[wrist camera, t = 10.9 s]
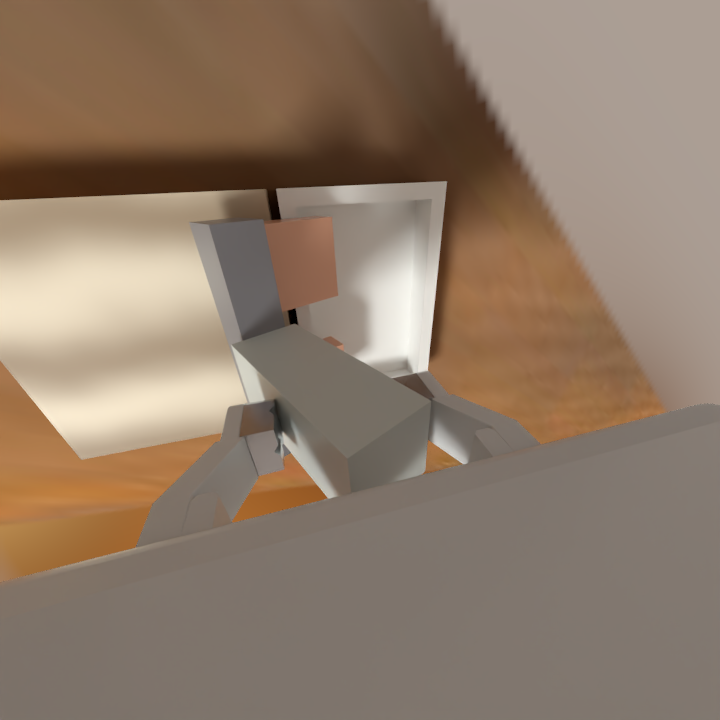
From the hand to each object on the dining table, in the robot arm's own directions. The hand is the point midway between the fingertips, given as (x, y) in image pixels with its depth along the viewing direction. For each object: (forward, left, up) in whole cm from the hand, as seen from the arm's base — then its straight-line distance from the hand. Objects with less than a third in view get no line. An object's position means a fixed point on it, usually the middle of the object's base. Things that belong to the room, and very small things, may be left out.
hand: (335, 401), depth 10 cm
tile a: (-3, -1, -8) cm, 9 cm away
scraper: (0, -4, -7) cm, 8 cm away
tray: (0, +4, -11) cm, 11 cm away
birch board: (0, -8, -11) cm, 14 cm away
